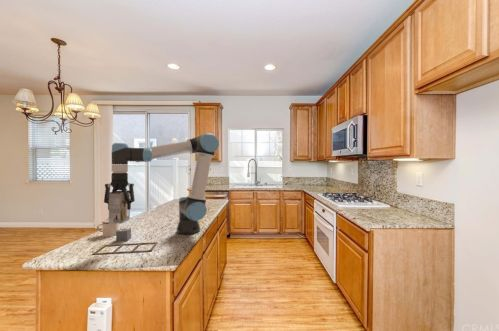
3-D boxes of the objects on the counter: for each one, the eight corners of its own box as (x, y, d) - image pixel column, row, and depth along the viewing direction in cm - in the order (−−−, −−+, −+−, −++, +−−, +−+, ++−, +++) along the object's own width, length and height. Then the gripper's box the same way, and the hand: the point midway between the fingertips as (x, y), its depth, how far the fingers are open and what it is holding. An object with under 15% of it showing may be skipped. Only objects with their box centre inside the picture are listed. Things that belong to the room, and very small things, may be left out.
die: (131, 237, 142) (130, 227, 141) (127, 241, 136) (127, 230, 136) (120, 238, 141) (120, 228, 141) (116, 241, 135) (116, 231, 135)
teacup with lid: (119, 231, 155) (119, 214, 154) (117, 235, 146) (117, 217, 146) (98, 233, 150) (98, 216, 150) (95, 238, 142) (94, 219, 142)
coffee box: (118, 219, 127) (118, 190, 127) (129, 219, 127) (130, 190, 127) (108, 223, 118) (108, 192, 118) (120, 223, 118) (120, 192, 118)
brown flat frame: (157, 243, 132) (157, 242, 132) (151, 251, 119) (151, 250, 119) (104, 245, 128) (104, 244, 128) (92, 254, 115) (92, 253, 115)
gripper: (141, 172, 128) (141, 214, 128) (102, 172, 125) (102, 214, 125) (137, 172, 121) (137, 217, 121) (95, 172, 118) (95, 218, 118)
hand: (119, 215), depth 123 cm, fingers closed on coffee box, 7 cm apart
